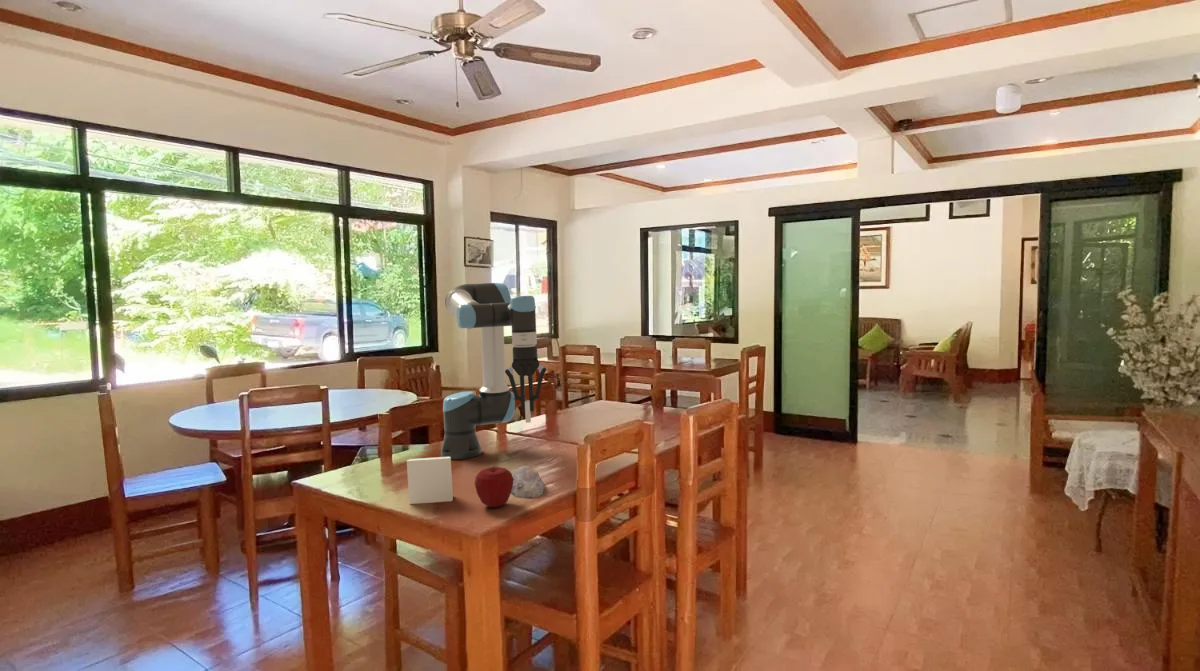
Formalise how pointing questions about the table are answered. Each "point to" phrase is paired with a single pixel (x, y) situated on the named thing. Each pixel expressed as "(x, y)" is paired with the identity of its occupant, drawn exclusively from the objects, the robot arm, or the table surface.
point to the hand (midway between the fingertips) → (528, 421)
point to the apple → (494, 486)
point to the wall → (429, 480)
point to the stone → (527, 483)
